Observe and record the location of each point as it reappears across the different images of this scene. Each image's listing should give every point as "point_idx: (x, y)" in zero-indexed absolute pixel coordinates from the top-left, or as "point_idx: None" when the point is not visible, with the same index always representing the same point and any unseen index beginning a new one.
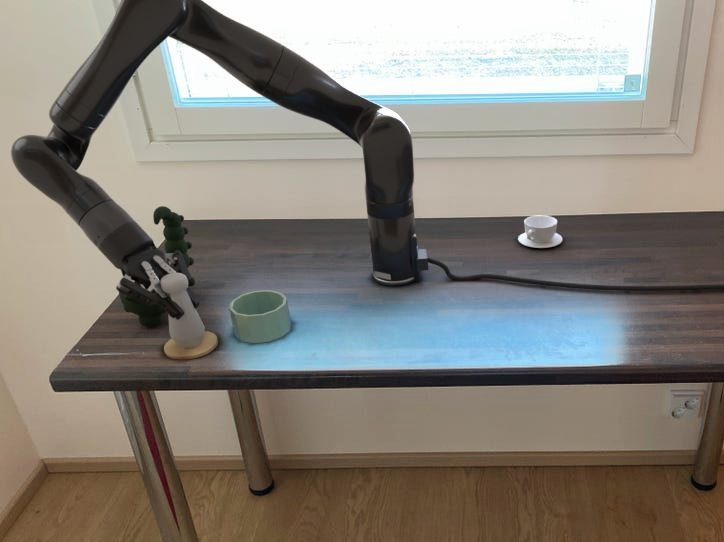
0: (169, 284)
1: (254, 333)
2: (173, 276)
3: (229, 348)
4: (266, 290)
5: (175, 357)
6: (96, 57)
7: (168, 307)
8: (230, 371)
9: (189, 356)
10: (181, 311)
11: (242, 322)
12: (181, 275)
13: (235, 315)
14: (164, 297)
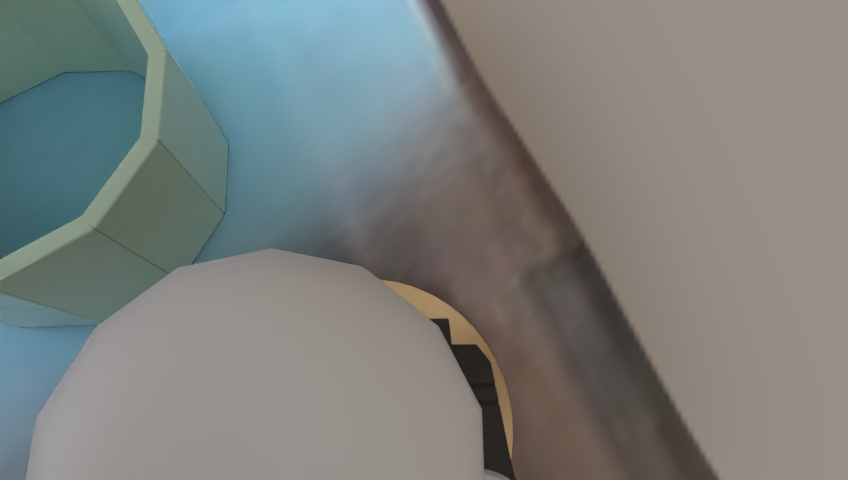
0: (455, 368)
1: (201, 100)
2: (254, 438)
3: (308, 218)
4: None
5: (509, 401)
6: None
7: (498, 419)
8: (472, 86)
9: (474, 328)
10: (434, 322)
11: (184, 121)
12: (145, 350)
13: (163, 143)
14: (498, 473)
